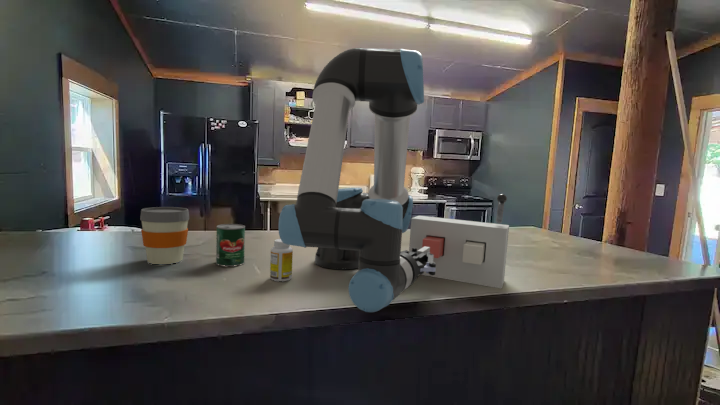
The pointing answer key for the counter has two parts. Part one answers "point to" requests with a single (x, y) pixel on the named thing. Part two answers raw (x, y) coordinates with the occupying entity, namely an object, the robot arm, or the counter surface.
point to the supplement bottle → (281, 261)
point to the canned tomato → (230, 244)
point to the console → (454, 241)
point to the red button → (434, 245)
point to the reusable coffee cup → (164, 233)
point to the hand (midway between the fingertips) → (426, 251)
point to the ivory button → (473, 252)
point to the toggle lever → (500, 207)
